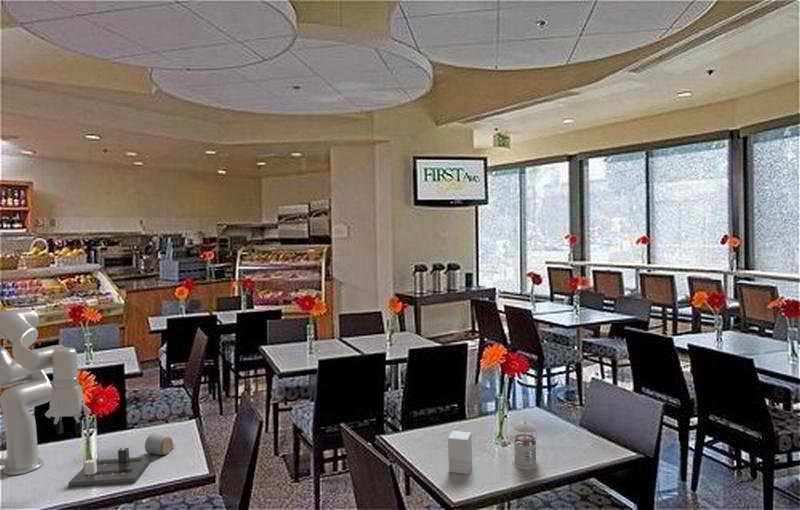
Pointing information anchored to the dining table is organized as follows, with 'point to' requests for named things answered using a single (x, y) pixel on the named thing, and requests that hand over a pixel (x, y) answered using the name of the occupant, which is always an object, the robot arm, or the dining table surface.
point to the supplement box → (460, 452)
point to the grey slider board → (112, 472)
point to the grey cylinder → (159, 444)
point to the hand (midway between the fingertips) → (69, 432)
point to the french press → (525, 446)
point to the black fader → (123, 454)
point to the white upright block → (90, 467)
